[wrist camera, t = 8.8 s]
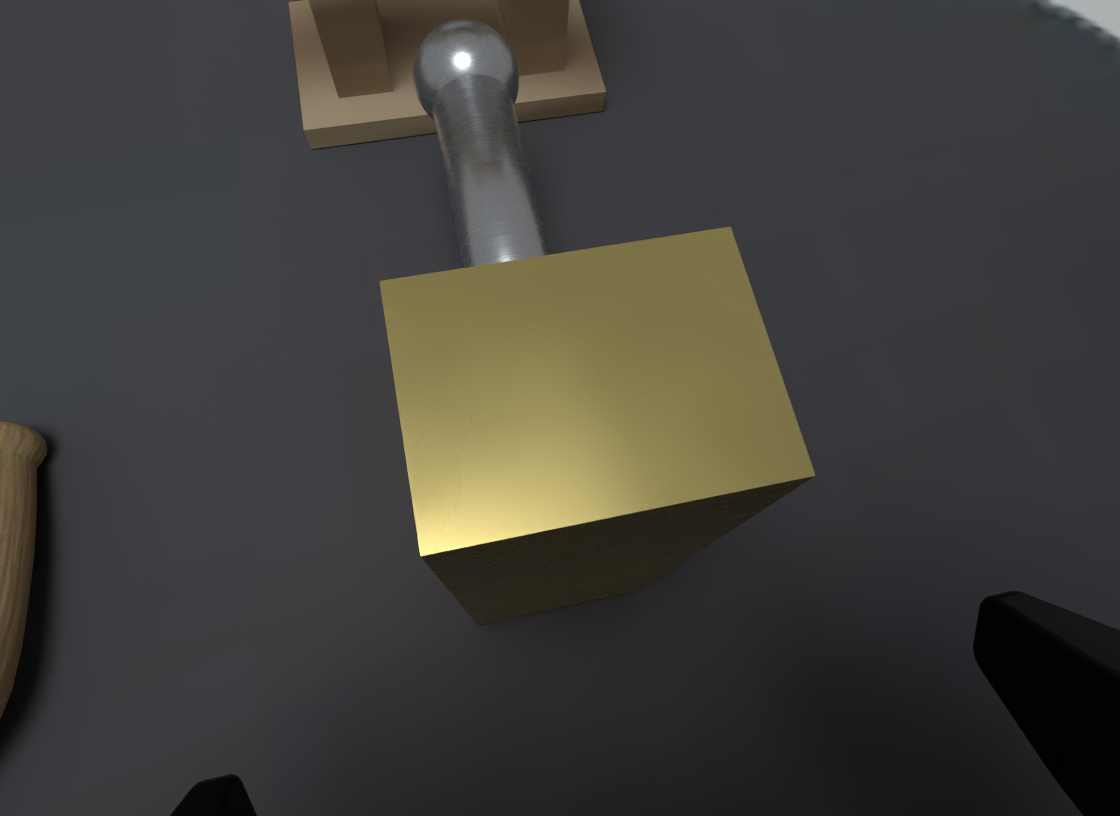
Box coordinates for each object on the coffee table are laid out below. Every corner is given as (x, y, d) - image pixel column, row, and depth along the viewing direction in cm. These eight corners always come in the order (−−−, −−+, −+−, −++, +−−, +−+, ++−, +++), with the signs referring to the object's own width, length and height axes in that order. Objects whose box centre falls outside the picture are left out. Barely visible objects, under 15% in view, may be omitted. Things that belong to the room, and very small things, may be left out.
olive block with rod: (640, 589, 18) (815, 476, 7) (478, 625, 17) (421, 556, 7) (536, 167, 22) (554, -288, 11) (403, 186, 21) (296, -272, 11)
